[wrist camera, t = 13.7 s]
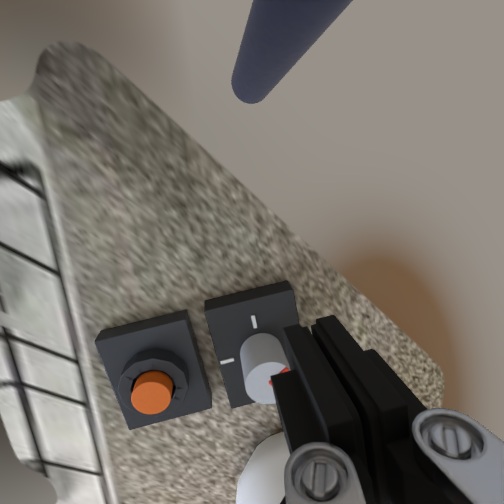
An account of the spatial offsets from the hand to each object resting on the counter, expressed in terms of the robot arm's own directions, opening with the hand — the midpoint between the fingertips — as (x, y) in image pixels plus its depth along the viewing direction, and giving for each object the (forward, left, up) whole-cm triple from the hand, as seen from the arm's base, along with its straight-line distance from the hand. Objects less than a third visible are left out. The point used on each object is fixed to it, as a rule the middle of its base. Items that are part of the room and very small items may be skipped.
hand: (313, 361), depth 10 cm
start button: (+13, -12, -20) cm, 26 cm away
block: (+13, -12, -23) cm, 29 cm away
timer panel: (+13, -1, -23) cm, 27 cm away
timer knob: (+13, -1, -21) cm, 24 cm away
